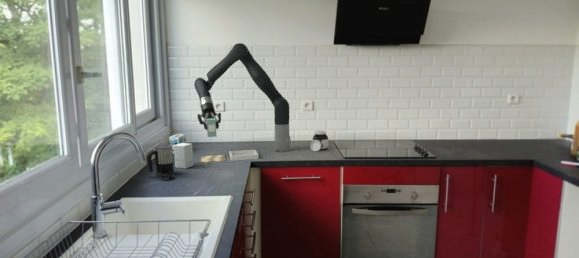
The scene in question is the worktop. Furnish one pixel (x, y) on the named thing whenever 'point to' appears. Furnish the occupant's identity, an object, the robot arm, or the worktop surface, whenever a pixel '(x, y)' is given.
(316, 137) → the spread jar
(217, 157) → the board
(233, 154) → the tray
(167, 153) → the milk frother
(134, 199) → the worktop surface
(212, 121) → the carton
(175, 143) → the light bulb box
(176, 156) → the supplement box
